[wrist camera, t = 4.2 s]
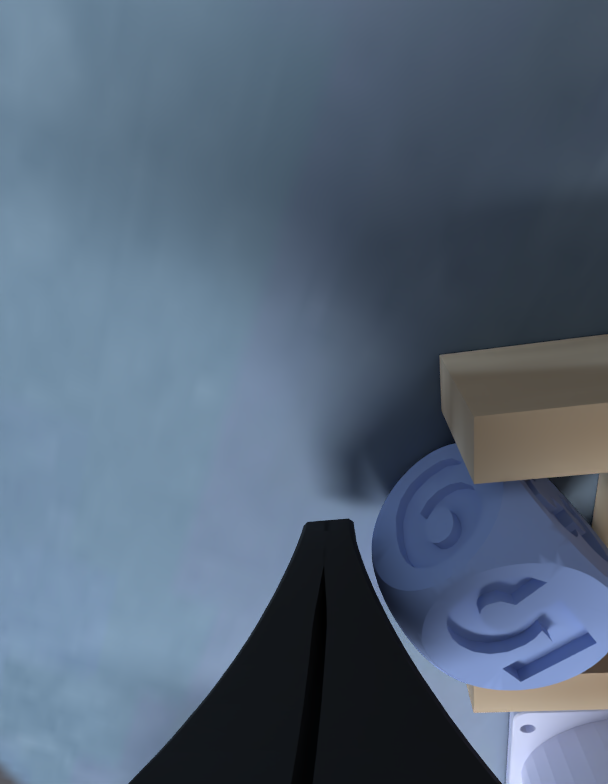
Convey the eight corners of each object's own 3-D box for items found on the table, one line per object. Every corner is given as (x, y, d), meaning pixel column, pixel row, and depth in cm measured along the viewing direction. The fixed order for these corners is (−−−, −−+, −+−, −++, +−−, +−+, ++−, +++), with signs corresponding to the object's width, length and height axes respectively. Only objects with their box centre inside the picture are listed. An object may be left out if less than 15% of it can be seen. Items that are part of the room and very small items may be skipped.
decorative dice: (458, 574, 14) (502, 715, 10) (364, 502, 13) (374, 631, 9) (573, 499, 12) (670, 634, 9) (476, 411, 11) (540, 523, 8)
